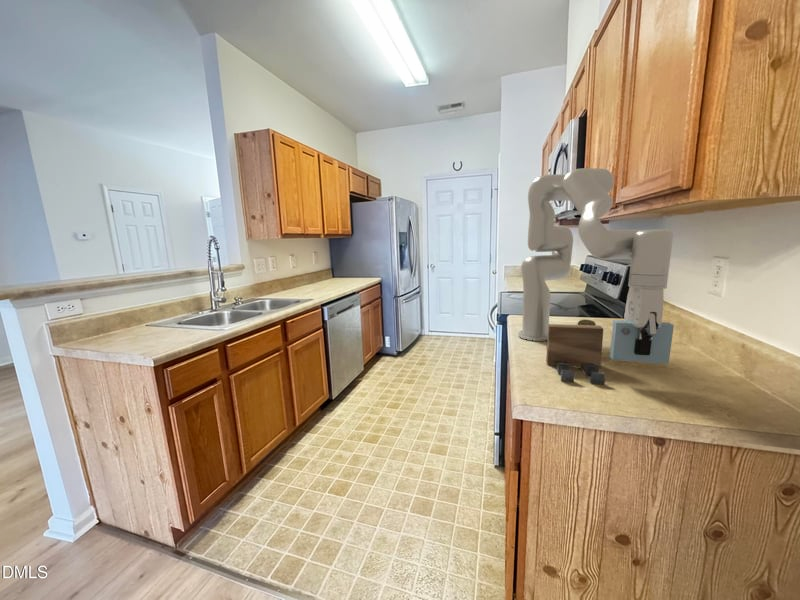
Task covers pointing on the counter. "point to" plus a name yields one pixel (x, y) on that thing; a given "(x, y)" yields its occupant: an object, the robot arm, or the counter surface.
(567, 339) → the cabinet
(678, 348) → the counter surface
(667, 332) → the block
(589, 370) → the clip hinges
